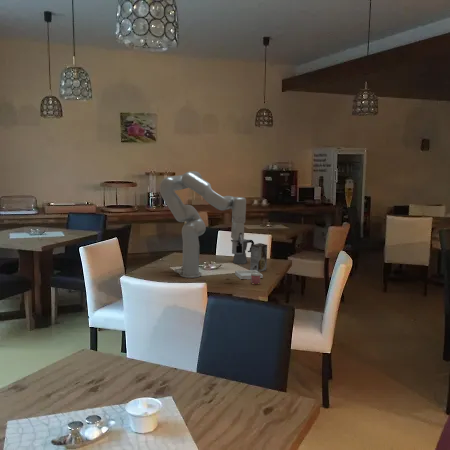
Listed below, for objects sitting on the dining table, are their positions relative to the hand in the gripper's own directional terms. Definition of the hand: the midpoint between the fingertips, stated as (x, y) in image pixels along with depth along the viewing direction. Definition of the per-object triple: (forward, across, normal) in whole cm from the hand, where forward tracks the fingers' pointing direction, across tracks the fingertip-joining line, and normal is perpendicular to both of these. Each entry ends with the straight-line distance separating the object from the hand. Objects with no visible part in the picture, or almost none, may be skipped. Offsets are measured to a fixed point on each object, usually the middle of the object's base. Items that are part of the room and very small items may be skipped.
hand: (237, 251), depth 285 cm
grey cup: (+1, 0, 0) cm, 1 cm away
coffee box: (+18, -24, +21) cm, 36 cm away
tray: (+17, -10, +10) cm, 22 cm away
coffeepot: (+18, -45, +17) cm, 51 cm away
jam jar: (+17, +5, +10) cm, 21 cm away
